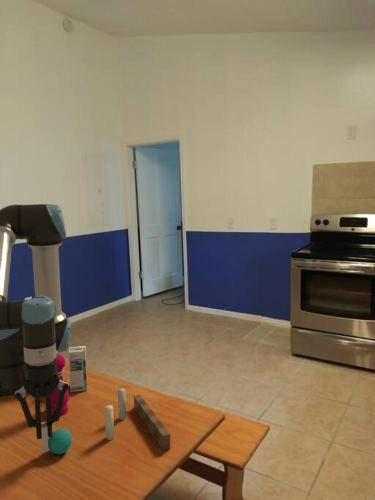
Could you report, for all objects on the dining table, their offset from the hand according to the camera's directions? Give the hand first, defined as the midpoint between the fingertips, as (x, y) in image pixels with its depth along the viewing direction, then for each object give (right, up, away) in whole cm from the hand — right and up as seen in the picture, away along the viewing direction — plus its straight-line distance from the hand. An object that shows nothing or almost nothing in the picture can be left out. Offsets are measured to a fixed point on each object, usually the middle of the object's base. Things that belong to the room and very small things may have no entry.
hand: (45, 448), depth 100 cm
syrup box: (-2, +2, +37) cm, 37 cm away
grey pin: (+17, 0, +18) cm, 24 cm away
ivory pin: (+15, -1, +8) cm, 17 cm away
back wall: (+26, 0, +13) cm, 29 cm away
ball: (+3, +1, +2) cm, 4 cm away
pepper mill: (-4, 0, +22) cm, 22 cm away
